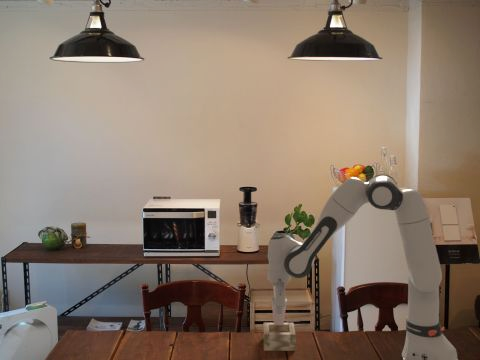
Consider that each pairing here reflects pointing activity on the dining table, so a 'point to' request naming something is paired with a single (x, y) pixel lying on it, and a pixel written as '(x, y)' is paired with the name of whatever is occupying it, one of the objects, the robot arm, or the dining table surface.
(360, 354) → the dining table surface
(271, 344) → the box
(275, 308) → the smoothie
